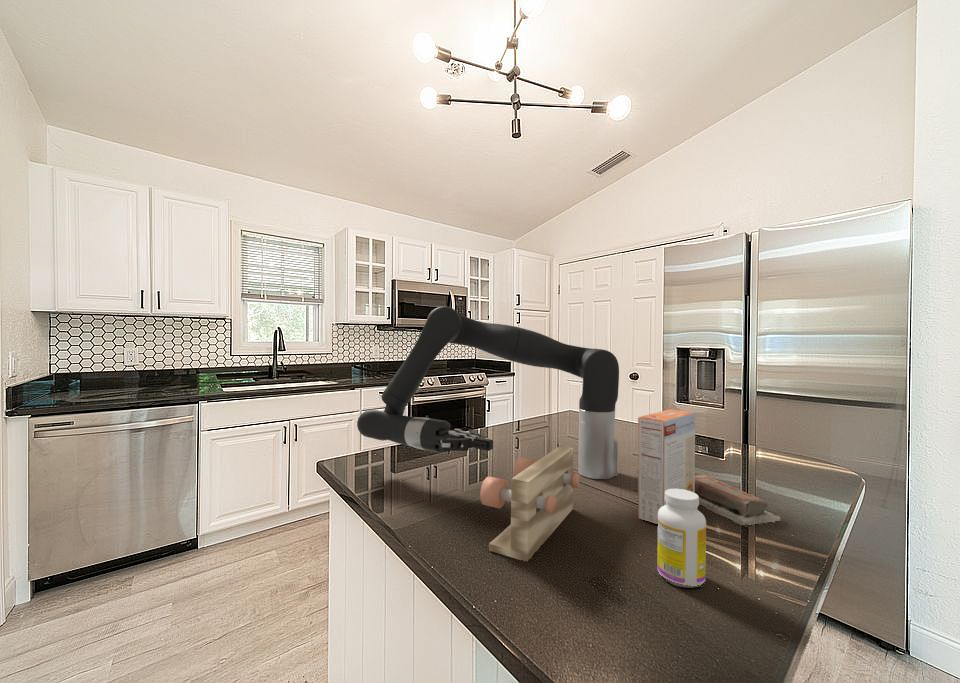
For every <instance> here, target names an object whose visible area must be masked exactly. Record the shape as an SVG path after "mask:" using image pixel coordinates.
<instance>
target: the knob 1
mask: <svg viewBox="0 0 960 683" xmlns="http://www.w3.org/2000/svg"><path fill="white" fill-rule="evenodd" d="M479 498H480V502H481V504H482V505H483V506H488V507H491V508H495V509H501V508H503V507H504V505H505V503H506V502H509V503H511V489H509V488H508V483H507V480H506V479H503V478H498V477H494V476H486V477H485V478H484V480H483V481H482V483H481V487H480V492H479ZM536 508H539V509H543V510H545V512H546V513H549V514H553V513H554V512H555V509H556V498H555V497H554V496H547V498H546V497H542V496H537V499H536Z"/></svg>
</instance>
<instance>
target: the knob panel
mask: <svg viewBox="0 0 960 683" xmlns="http://www.w3.org/2000/svg"><path fill="white" fill-rule="evenodd" d="M563 473H567V474H573V473H574V447H568V446H562V445H559V446H558V447H556V448H555V449H553V450H551V451H550V452H549V453H547V454H546V455H544V456H543V457H541V458H539V459H538V460H537V461H535V463H534V464H532V465H531V466H529V467H528V468H526V469H525V470H524V471H522V472H521V473H519V474H518V475H516V476H515V477H514V476H513V477H512V478H511V482H510V483H511V487H510V488H511V489H510V490H511V502H510V503H511V504H510V524H509V525H508V526H507V527H506V528H505V529H504V530H503V531H502V532H501V533H499V534H498V535H497V536H496V537H495V538H494V539H493V540H491V541H490V542H489V543H488V551H489V552H493V553H497V554H498V555H502V556H506V557H509V558H513V559H516V560H519V561H522V560H523V561H522V562H525V561H527V562H526V563H528V562H529V561H530V560H531V559H532V557H533V556H534V555H535V554H536V553H537V551H538V550H539V549H540V548H541V547H540V546H541V545H544V543H545V542H546V541H547V540H548V538H549V537H550V536H551V535H552V534H553V533H554V532H555V530H557V528H558V527H559V525H561V523H562V522H563V521H564V520H565V519H566V518H567V516H568V515H569V514H570V513H571V512H572V511H573V509H574V508H573V506H574V505H573V504H574V503H573V501H574V497H573V496H574V487H571V485H569V484H564V483H563ZM537 496H542V497H546V498H547V496H554V497H555V498H556V509H555V512H554V513H553V514H549V513H546V512H545V510H543V509H539V508H536V499H537ZM535 552H536V553H535ZM534 553H535V554H534ZM533 554H534V555H533ZM529 559H530V560H529ZM528 560H529V561H528Z"/></svg>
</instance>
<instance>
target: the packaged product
mask: <svg viewBox="0 0 960 683" xmlns="http://www.w3.org/2000/svg"><path fill="white" fill-rule="evenodd" d="M695 494H697V495H698V496H699V504H700V505H702V506H704V507H707V508H709V509H711V510H713V511H715V512H717V513H719V514H721V515H723V516H725V517H727V518H729V519H731V520H733V521H735V522H738V523H740V524H742V525H745V524H747V525H748V524H754V523H766V522H772V523H776V522H775V521H779V522H781V518H782V517H781V516H779V515H775V514H774V513H772V512H769V511H767V510H765V509H766V508H767V506H768V502H767V501H766V500H764V499H761V498H760V497H757V496H755V495H753V494H750V493H747V492H745V491H743V490H741V489H739V488H737V487H733V486H732V485H729V484H727V483H725V482H722V481H720V480H718V479H716V478H713V477H711V476H708V475H705V474H695ZM700 505H699V506H700ZM702 506H701V507H702ZM704 507H703V508H704ZM766 524H767V523H766Z"/></svg>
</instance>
